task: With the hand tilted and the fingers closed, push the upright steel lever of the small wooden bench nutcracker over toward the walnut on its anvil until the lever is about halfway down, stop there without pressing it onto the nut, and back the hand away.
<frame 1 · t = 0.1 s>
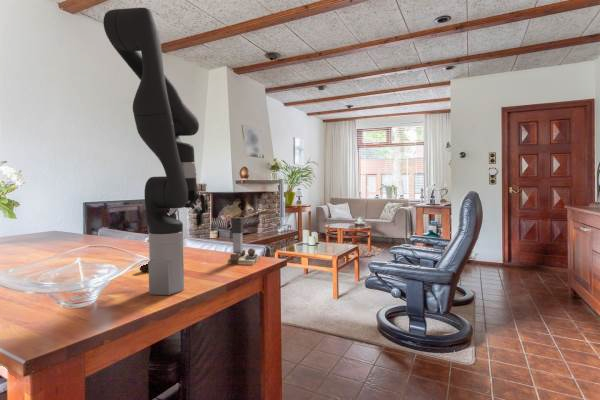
hand: (186, 225, 113), 17 cm above the table, tool pointing down, fingers open, 8 cm apart
lever: (237, 237, 137), point 10 cm above the table, hinge at 0.0°
bolt: (159, 269, 126), on the table
cracker base: (244, 261, 137), on the table
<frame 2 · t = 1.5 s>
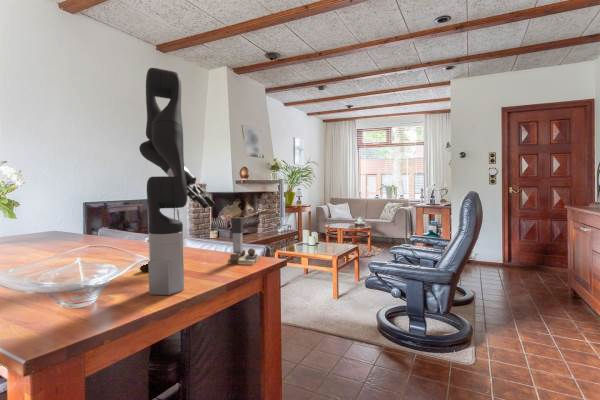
hand: (210, 206, 137), 22 cm above the table, tool tilted 45°, fingers open, 6 cm apart
nothing on the table moved.
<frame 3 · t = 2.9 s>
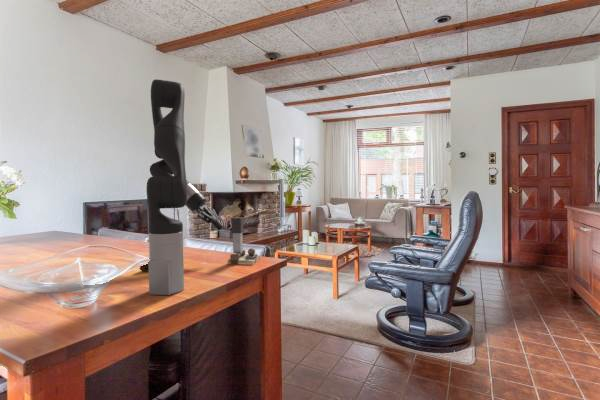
hand: (221, 228, 137), 13 cm above the table, tool tilted 45°, fingers closed
nothing on the table moved.
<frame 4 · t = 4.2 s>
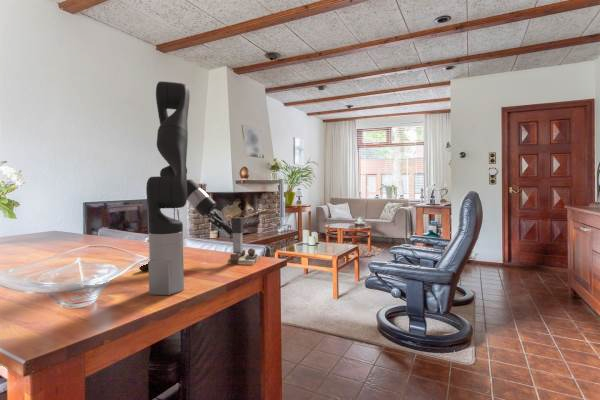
hand: (231, 232, 137), 11 cm above the table, tool tilted 45°, fingers closed
lever: (237, 237, 137), point 10 cm above the table, hinge at 0.0°, touching gripper
everything else where it was.
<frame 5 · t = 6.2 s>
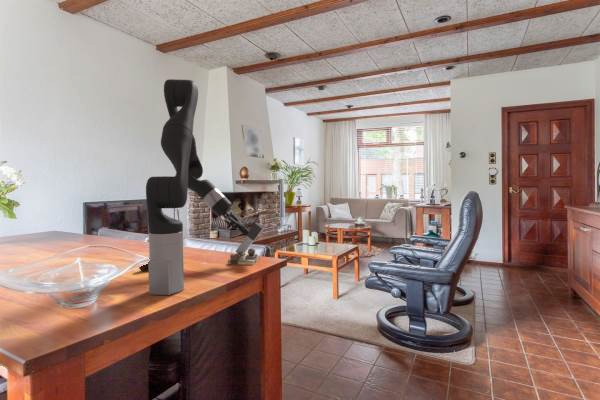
hand: (247, 234, 136), 11 cm above the table, tool tilted 45°, fingers closed
lever: (248, 241, 136), point 8 cm above the table, hinge at 36.7°, touching gripper
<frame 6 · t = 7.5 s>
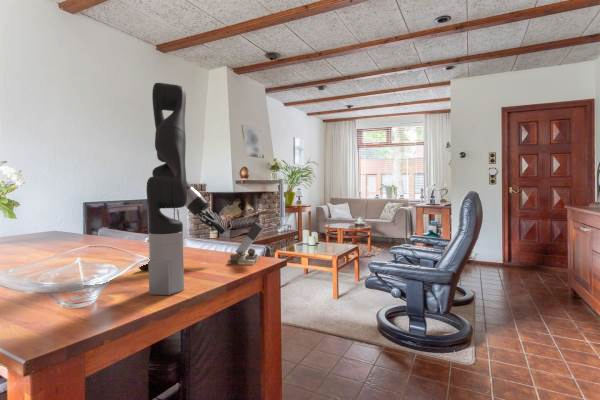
hand: (223, 232, 137), 11 cm above the table, tool tilted 45°, fingers closed
lever: (248, 241, 136), point 8 cm above the table, hinge at 36.8°
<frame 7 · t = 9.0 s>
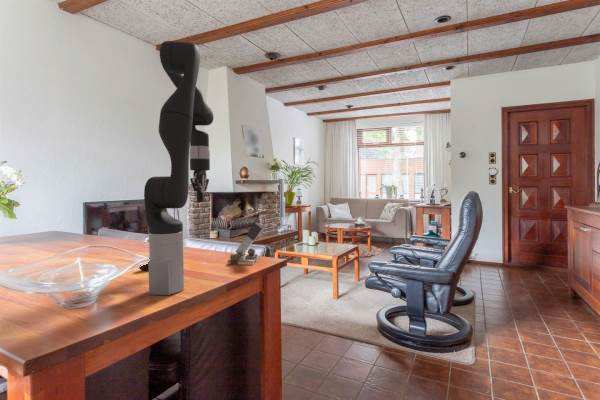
hand: (200, 202, 136), 24 cm above the table, tool pointing down, fingers closed
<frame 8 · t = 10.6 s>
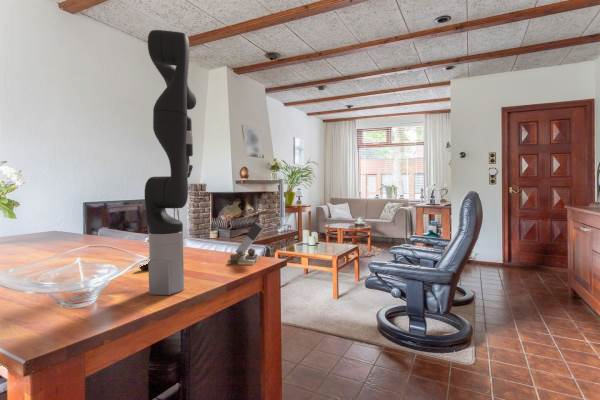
hand: (183, 188, 132), 29 cm above the table, tool pointing down, fingers closed
at the end: lever at +37° (first picture: +0°); lever tilted 37° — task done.
